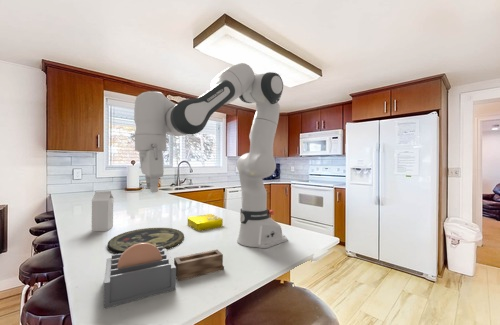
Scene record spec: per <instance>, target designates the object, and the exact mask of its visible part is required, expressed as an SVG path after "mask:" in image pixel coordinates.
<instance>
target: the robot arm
mask: <svg viewBox="0 0 500 325" xmlns="http://www.w3.org/2000/svg"><path fill="white" fill-rule="evenodd" d="M254 72H255V71H254V70H253V68H252V67H251V66H250V65H249V64H247V63H245V62H244V63H243V62H240V63H237V64H234V65H231V66H230V67H227V68H226V69H224V70H222V71H221V72H220V73H218V74H217V75H216V76H215V77H214V78H213V79H212V80H211V82H210V86H209V87H210V89H209V90H207V91H206V92H205V93H203V94H201V95H200V96H199V97H196V98H186V99H183V100H181V101H179V102H178V103H175V102H173V101H172V100H170V99H169V98H167V97H166V96H165V95H164V93H162V92H161V91H157V90H152V91H151V90H149V91H144V92H141V93H139V94H138V95H136V97H135V101H134V108H133V109H134V112H133V114H134V116H133V118H134V119H133V120H134V124H135V130H134V131H135V132H134V151H135V152H138V153H139V154H138V155H139V163H140V164H139V165H140V169H141V173H142V175H144V177H145V183H146V184H145V185H146V189H148V190H150V192H151V193H158V192H159V191H158V190H159V182H160V178H162V177H164V158H163V157H164V156H163V155H164V154H163V152H165V151H167V135H170V136H174V137H181V136H187V135H196V134H199V133H200V132H202V131H203V130H204V128H205V127H206V125H207V123H208V122H209V119H210V117H212V115H213V114H214V113H215V112H217V111H218V110H219V109H220V108H221V107H223V106H224V105H227V104H230V103H231V102H234V101H235V100H237V99H238V98H239V99H240V101H241V102H243V103H246V104H253V103H255V104H256V105H255V107H256V110H255V114H254V117H253V119H252V123H251V124H252V125H251V128H250V131H249V136H248V138H249V142H250V143H249V144H250V145H249V152H246V153H243V154H242V155H241V156H240V157H238V159H237V162H236V169H237V171H238V175H239V182H240V191H241V208H240V212H239V213H240V216H239V217H240V218H239V219H240V220H239V221H240V228H239V232H238V233H239V234H238V236H237V240H236V241H237V243H238V244H240V245H242V246H245V247H250V248H258V249H259V248H260V249H268V248H271V247H273V246H277V245H278V244H282V243H284V242H287V241H288V237H287V236H286V235H284V234H283V231H282V230H283V229H282V227H281V225H280V224H279V223H278V222H276V221H275V220H274V219H273V218H272V217H271V216H274V214H275V210H273V209H268V207H267V205H268V204H267V203H268V201H267V200H268V198H267V197H268V192H267V189H266V188H265V185H264V178H265V179H266V178H269V177H271V176H272V175H273V174H274V173H275V172H276V168H277V162H276V159H275V157H274V141H275V137H276V133H277V127H278V125H279V118H280V111H281V110H280V109H281V108H280V104H279V101H280V100H281V96H282V94H283V90H284V81H283V78H282V77H281V75H280V74H279V73H276V72H273V71H272V72H271V71H269V72H265V73H260V74H256V75H255V73H254ZM270 215H271V216H270Z"/></svg>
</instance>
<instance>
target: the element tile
mask: <svg viewBox="0 0 500 325" xmlns="http://www.w3.org/2000/svg"><path fill="white" fill-rule="evenodd" d="M223 221H224V220H223V218H221V217H219V216H217V215H214V214H212V213H209V214H200V215H194V216H189V217H187V226H188V225H189V226H188V227H190V226H191V227H192V228H191V227H190V228H191V229H193V228H194V229H193V230H195V231H197V232H203V231H207V230H213V229H218V227H219V228H222V227H223V225H224V222H223ZM202 230H203V231H202Z"/></svg>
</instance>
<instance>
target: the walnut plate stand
mask: <svg viewBox="0 0 500 325" xmlns="http://www.w3.org/2000/svg"><path fill="white" fill-rule="evenodd" d="M223 259H224V254H223V252H221V251H220V250H219V249H213V250H207V251H202V252H198V253H192V254H187V255H182V256H176V257H174V258H173V263H174V265H175V266H176V280H177V282H180V281H183V280H188V279H192V278H196V277H200V276H204V275H207V274H212V273H216V272H221V271H224V270H225V266H224V264H223V262H224V260H223Z"/></svg>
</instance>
